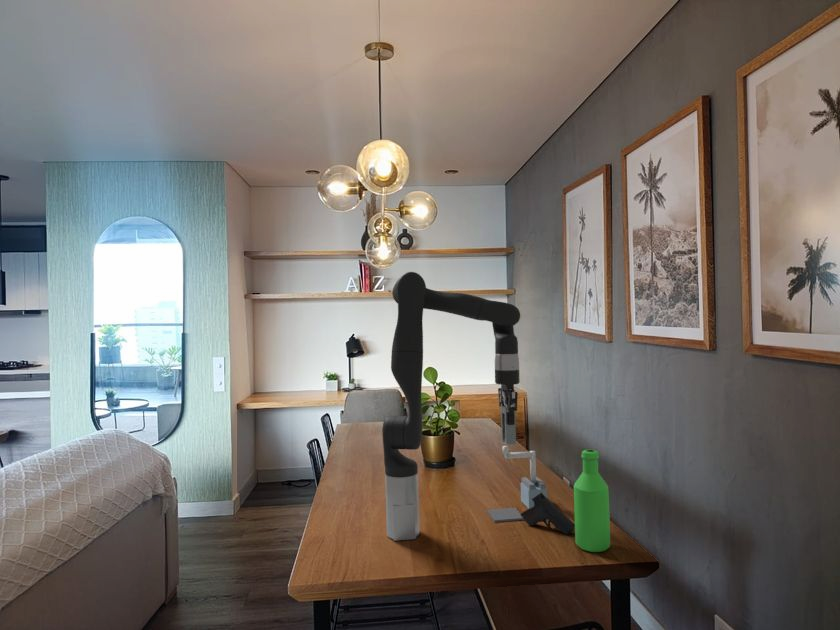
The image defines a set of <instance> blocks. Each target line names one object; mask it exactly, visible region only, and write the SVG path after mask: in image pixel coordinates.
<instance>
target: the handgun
mask: <svg viewBox="0 0 840 630" xmlns="http://www.w3.org/2000/svg"><path fill="white" fill-rule="evenodd" d="M532 500H533V501H534V507H532V508H529V509H528V508H527V509H525V510H524V511H522V512H521V513H520V515H521V516H522V518H523V519H524V520H523V521H525V522H526V523H527V524H528V525H529V527H533V526H534V525H537V524H538V523H544V524H545V525H546V527H547V528H548V529H549V530H551V531H555V530H559V531H560V532H561V533H563V535H564V536H565V535H566V536H567V535H570V534H572V532H574V531H575V522H573V521H572V520H571V519H570V518H569V517H568V516H566V514H564V513H563V512H562V511H561V510H560V509H559V508H558V507H557V506H556V505H555V504H554V503H553V502H552V501H551V500H550V499H549V498H548V497H547V498H546V497H545V496H544V495H543V494H542V493H540V494H539V495H537V496H536V497H534V498H533V499H532ZM547 520H548V521H547ZM551 524H552V525H553V526H554V528H552V527H551Z"/></svg>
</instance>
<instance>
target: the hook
mask: <svg viewBox="0 0 840 630" xmlns="http://www.w3.org/2000/svg"><path fill="white" fill-rule="evenodd" d="M511 407H512V405H511ZM514 415H515V416H516V411H515V412H514ZM500 421H501V422H500V423H501V443H504V444H505V445H517V432H516V430H517V429H516V425H517V424H516V422H515V424H514V425H508V424H507V411H506V406H501V407H500Z"/></svg>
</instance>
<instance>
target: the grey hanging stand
mask: <svg viewBox="0 0 840 630" xmlns="http://www.w3.org/2000/svg"><path fill="white" fill-rule="evenodd" d="M502 455H504V459H507V460H508V459H523V458H524V459H525V458H526V459H527V458H529V473H530V474H529V475H530V477H529V478H530V479H529V478H528V477H525V476H524V477H521V482H520V501H521V503H522V504H524V505H525V507H526V508H527V509H529V508H532V507H534V501H533V500H532V499H533V498H534V497H536V496H537V495H539V494H540V493H542V494H543V495H544V496H545V497H546V498H548V489H547V488H546V483H545V482H544V481H543V480H542V479H540V478H539V477H538V476H537V467H536V465H537V461H536V450H530V451H515V452H514V451H513V452H509V445H502Z"/></svg>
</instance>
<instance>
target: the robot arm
mask: <svg viewBox="0 0 840 630" xmlns="http://www.w3.org/2000/svg"><path fill="white" fill-rule="evenodd" d="M392 297H393V300H394V301H395V303H397V319H396V320H397V321H396V326H395V330H394V335H393V340H392V345H391V361H390V362H391V363H390V370H391V374H392V375H393V378H394V379H395V381H396V383H397V385H398V386H399V388H400V389H401V391H402V393H403V394H404V398H405V399H406V403H407V407H408V415H389V416H386V417H385V418H384V420H383V423H382V433H381V434H382V436H381V437H382V444H383V445H382V446H383V463H384V474H385V475H384V477H385V478H384V479H385V483H384V484H385V514H386V516H385V517H386V518H385V520H386V536H387V537H388V538H389V539H392V540H393V541H395V542H397V541H408V540H410V541H411V540H416V539H417V537H418V536H419V534H420V511H419V510H420V507H419V504H420V503H419V473H418V471H419V470H418V468H419V467H418V466H419V465H418V463H417V461H415V460H414V459H412V458H409V457H407V456H405V455H404V454H402V453H401V452H400V450H410V451H411V450H412V451H413V450H414V451H415V450H418V449H420V446H421V444H422V439H423V412H422V411H423V410H422V384H423V382H422V381H423V367H424V363H423V362H424V329H423V317H424V316H423V315H424V309H425V310H432V311H438V312H443V313H449V314H452V315H456V316H460V317H464V318H468V319H472V320H477V321H485V322H489V323H491V324H492V325H491V326H492V330H493V335H494V339H495V341H494V343H495V344H494V350H495V351H494V354H495V357H494V383H495V384H496V385H499V386H500V388H499V387H498V389H497V391H498V393H497V395H498V406H499V407H500V408H501V406H506V411H507V424H508V425H514V424H515V423H516V414H515V415H514V412H515V413H516V412H517V411H518V396H519V395H518V391H516V390H515V386H514V385H518V384H520V381H521V380H520V358H519V341H518V340H519V339H518V337H517V336H516V335H515V330H514V326H515V325H517V324H518V323H519V321H520V319H521V313H520V312H521V311H520V310H519V308H518V307H517V306H516V305H514V304H512V303H509V302H502V301H498V300H497V301H496V300H492V299H491V300H490V299H487V298H484V297H479V296H476V295H473V294H468V293H463V292H447V291H440V290H439V291H438V290H433V289H432V288H431V289H430V288H428V287H427V285H426V282H425V280H424V278H423V277H422V275H420V273H417V272H416V271H415V272H414V271H407V272H405V273H403V274H402V275H401V276H400V277H398V279H397V280H396V282H395V284H394V286H393V288H392ZM511 406H512V407H511Z"/></svg>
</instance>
